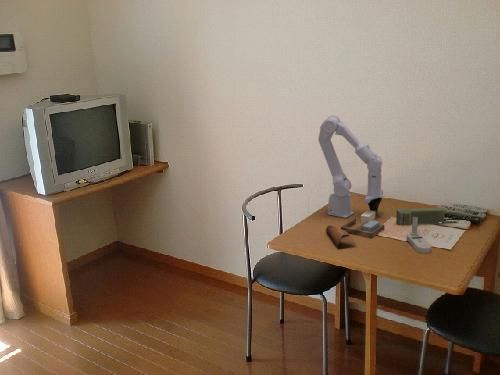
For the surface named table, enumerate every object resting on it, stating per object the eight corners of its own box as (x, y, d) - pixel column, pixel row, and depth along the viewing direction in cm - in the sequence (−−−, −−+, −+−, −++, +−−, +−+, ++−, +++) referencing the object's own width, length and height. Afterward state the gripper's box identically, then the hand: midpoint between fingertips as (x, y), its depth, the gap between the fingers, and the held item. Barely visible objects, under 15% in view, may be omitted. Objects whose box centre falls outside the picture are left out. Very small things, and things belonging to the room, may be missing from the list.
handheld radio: (395, 223, 230) (455, 221, 229) (397, 226, 227) (458, 224, 226) (396, 208, 228) (456, 206, 227) (398, 211, 225) (459, 209, 224)
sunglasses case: (359, 247, 207) (351, 233, 205) (344, 257, 207) (335, 244, 205) (345, 230, 224) (337, 218, 222) (331, 239, 224) (323, 227, 222)
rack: (340, 231, 223) (340, 226, 223) (353, 223, 231) (353, 218, 231) (372, 238, 215) (372, 233, 214) (384, 229, 223) (384, 224, 222)
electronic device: (420, 230, 196) (406, 215, 210) (419, 255, 199) (404, 238, 213) (435, 229, 196) (419, 214, 210) (433, 254, 199) (417, 237, 214)
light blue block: (370, 235, 218) (370, 227, 217) (362, 233, 220) (362, 225, 219) (379, 229, 224) (379, 221, 223) (371, 227, 226) (371, 220, 225)
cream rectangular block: (368, 224, 230) (368, 216, 229) (360, 223, 232) (360, 215, 231) (375, 218, 237) (375, 211, 236) (367, 217, 238) (367, 210, 237)
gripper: (375, 190, 226) (374, 220, 230) (390, 181, 237) (389, 210, 241) (360, 187, 230) (359, 217, 234) (375, 179, 241) (374, 208, 245)
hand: (373, 214), depth 238 cm, fingers closed
